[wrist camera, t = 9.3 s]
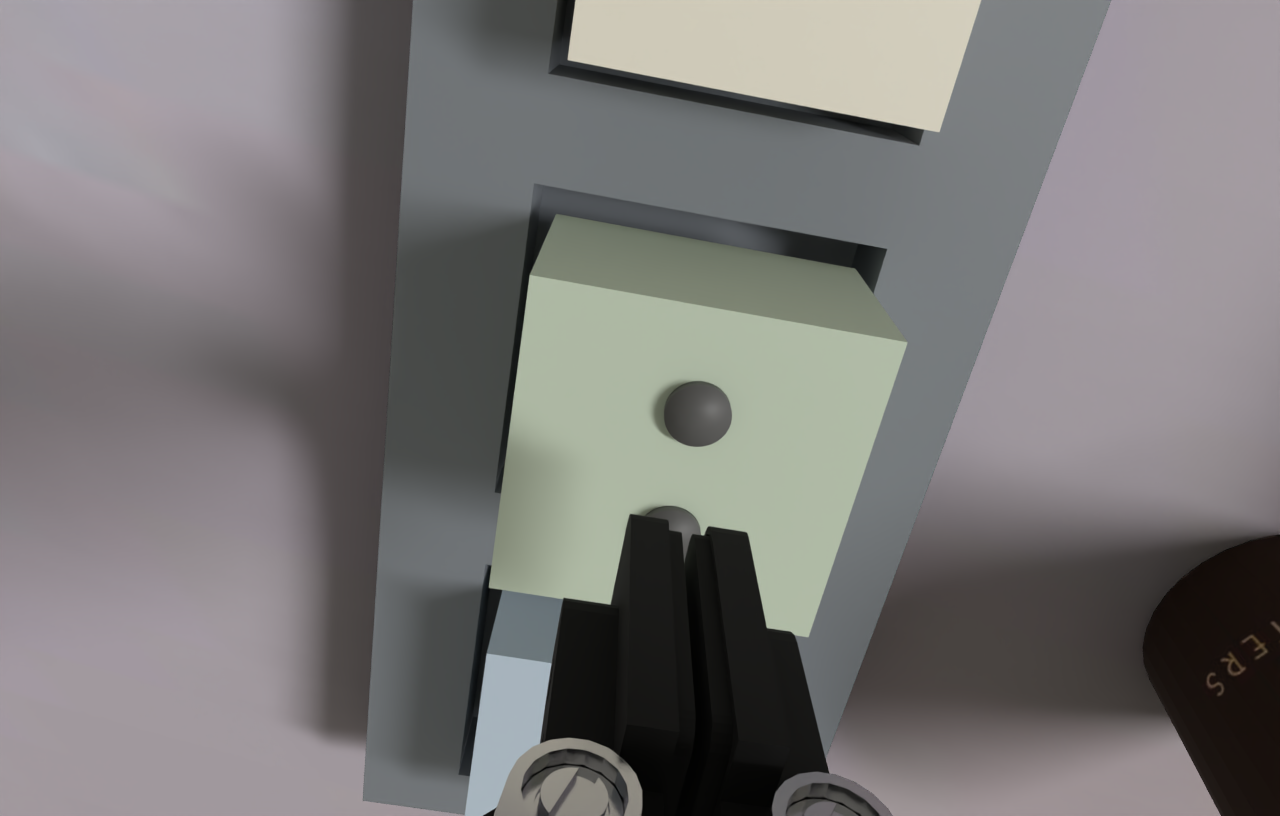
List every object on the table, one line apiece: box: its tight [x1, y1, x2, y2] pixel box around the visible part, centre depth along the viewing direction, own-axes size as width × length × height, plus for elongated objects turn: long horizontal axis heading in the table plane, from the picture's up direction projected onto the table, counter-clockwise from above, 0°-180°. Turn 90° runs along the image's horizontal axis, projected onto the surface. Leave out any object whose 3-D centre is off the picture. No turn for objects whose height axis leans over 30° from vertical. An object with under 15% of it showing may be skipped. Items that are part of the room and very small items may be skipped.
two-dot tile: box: [489, 214, 908, 637], centre depth 17 cm, size 6×6×4 cm
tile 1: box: [465, 590, 563, 816], centre depth 22 cm, size 6×6×4 cm
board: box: [363, 0, 1111, 815], centre depth 20 cm, size 28×12×2 cm, turn 170°
